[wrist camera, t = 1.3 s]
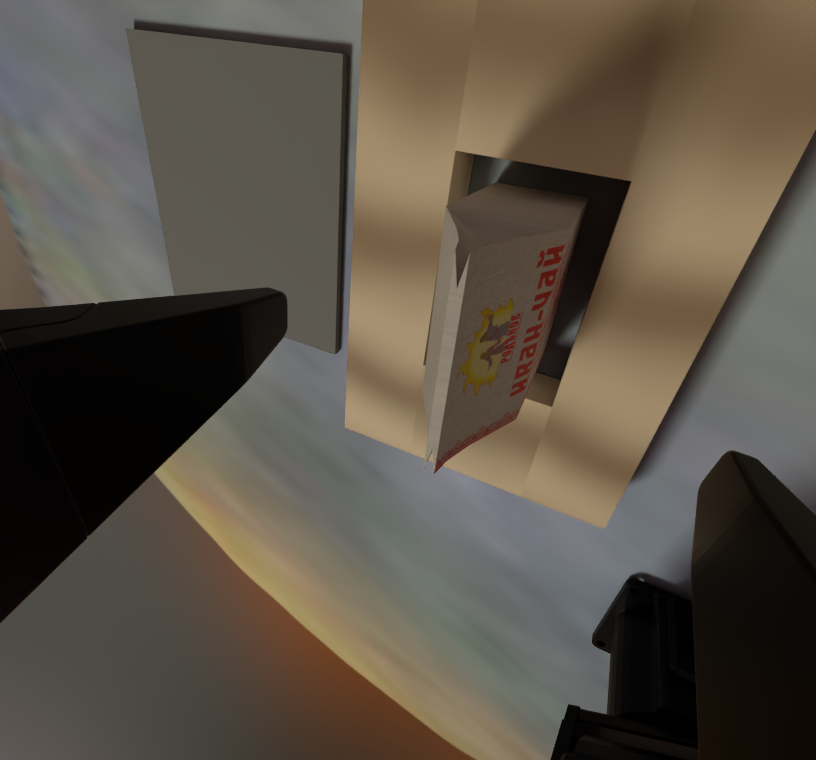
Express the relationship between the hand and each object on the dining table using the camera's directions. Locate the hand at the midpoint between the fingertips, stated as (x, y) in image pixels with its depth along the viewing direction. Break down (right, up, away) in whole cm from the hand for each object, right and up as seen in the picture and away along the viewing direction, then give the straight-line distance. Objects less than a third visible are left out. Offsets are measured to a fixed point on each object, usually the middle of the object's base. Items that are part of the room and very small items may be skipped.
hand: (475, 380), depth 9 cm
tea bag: (+4, +5, +11) cm, 12 cm away
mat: (-10, +9, +15) cm, 20 cm away
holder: (+4, +5, +11) cm, 12 cm away
